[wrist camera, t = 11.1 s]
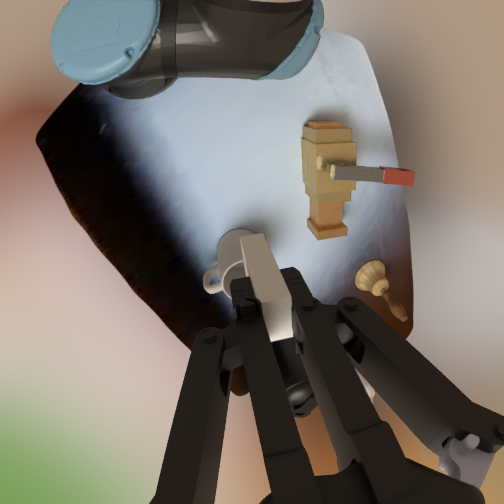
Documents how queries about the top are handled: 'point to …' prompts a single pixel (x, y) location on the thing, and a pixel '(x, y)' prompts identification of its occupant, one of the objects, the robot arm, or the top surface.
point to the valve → (326, 175)
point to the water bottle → (294, 377)
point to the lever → (371, 174)
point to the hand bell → (378, 285)
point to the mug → (227, 262)
